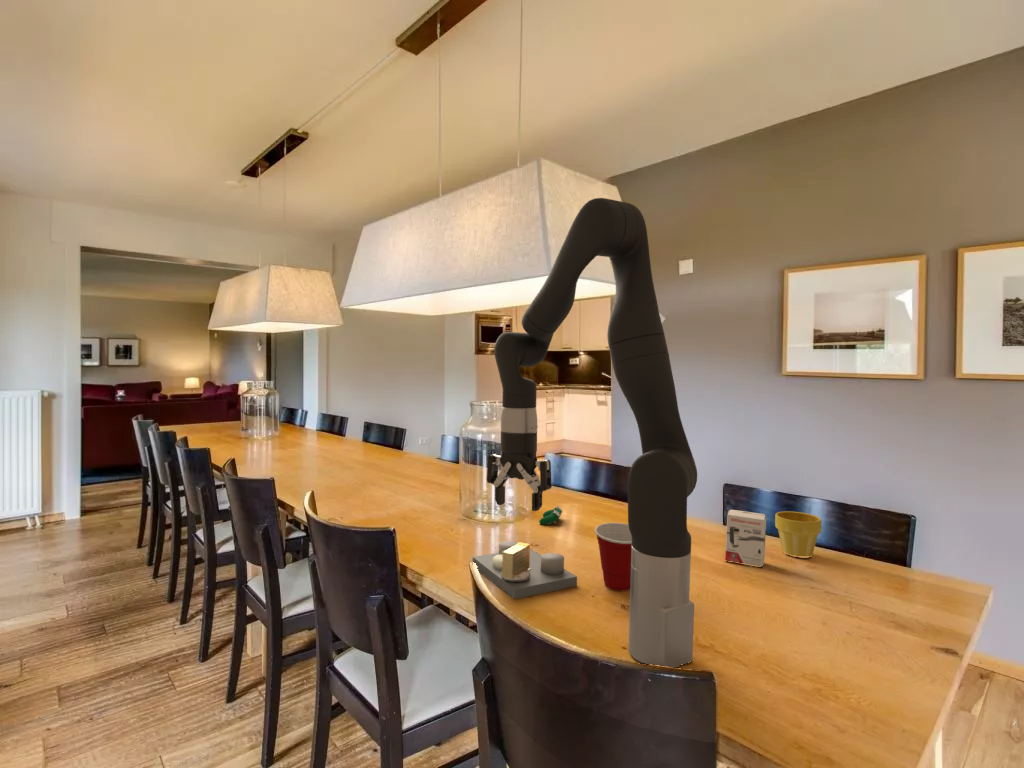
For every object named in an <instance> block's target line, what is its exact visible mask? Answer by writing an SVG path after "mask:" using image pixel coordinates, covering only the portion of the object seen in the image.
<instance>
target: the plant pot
mask: <svg viewBox="0 0 1024 768" xmlns="http://www.w3.org/2000/svg"><path fill="white" fill-rule="evenodd" d="M774 516H775V519H774V525H775V528H776V529H777V532H778V536H779V541H780V545H781V551H782V550H783V551H784V552H786V553H788V554H791V555H796V556H811V555H812V556H813V555H814V551H815V547H816V544H817V540H818V535H820V534H821V533H822V519H821V517H819V516H817V515H814V514H810V513H806V512H800V511H792V510H791V511H787V510H785V511H777V512H776V513H775V515H774Z"/></svg>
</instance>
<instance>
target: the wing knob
mask: <svg viewBox="0 0 1024 768" xmlns="http://www.w3.org/2000/svg"><path fill="white" fill-rule="evenodd" d="M530 545H531V544H529V543H525V542H518V543H517V544H516V545H514V546H513V547H511V548H509V549H507V550H505V551H503V559H502V571H501V577H502V579H503V580H505V581H508V582H515V583H518V582H525V581H527V580H529V579H530V571H529V570H528V569H529V564H530V549H531V546H530Z"/></svg>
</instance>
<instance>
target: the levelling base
mask: <svg viewBox="0 0 1024 768" xmlns="http://www.w3.org/2000/svg"><path fill="white" fill-rule="evenodd" d="M517 543H519V542H518V541H513V540H512V541H511V540H507V541H501V542H499V544H498V552H494V553H488V554H482V555H476V556H472V563H473V562H474V563H476V565H477V566H478V569H479V570H478V571H479V572H480V573H481V574H482V575H484V576H485V577H486V578H487V579H489V581H491V582H492V583H494V584H495V585H496V586H497V587H498V588H500V589H501V590H502V591H504V592H505V593H506V594H507V595H509V596H510V597H511V598H512V599H513V600H517V599H521V598H526V597H527V598H528V597H531V596H536V595H540V594H545V593H550V592H554V591H558V590H565V589H568V588H569V589H570V588H574V587H577V586H578V576H577V575H576V574H573V573H572V572H570V571H569V570H567V569H566V568H565V556H564V555H563V554H560V553H554V552H547V553H543V554H540V553H538V552H537V551H535V550H534V549H532V548H530V564H529V569H528V570H529V571H530V579H529V580H527V581H525V582H518V583H515V582H508V581H505V580H503V579H502V577H501V571H502V559H503V551H505V550H507V549H509V548H511V547H513V546H514V545H516V544H517Z"/></svg>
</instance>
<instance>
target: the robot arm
mask: <svg viewBox="0 0 1024 768" xmlns="http://www.w3.org/2000/svg"><path fill="white" fill-rule="evenodd" d="M647 230H648V229H647V226H646V221H645V218H644V215H643V214H642V211H641V209H639V208H638V207H637V206H636V205H634V204H632V203H629V202H625V201H622V200H620V201H619V200H615V199H611V198H606V197H605V198H604V197H596V198H592V199H591V200H588V201H586V202H585V204H584V205H583V206H582V207H581V208H580V209H579V211H578V213H577V214H576V215H575V218H574V220H573V222H572V224H571V226H570V228H569V231H568V232H567V235H566V237H565V239H564V241H563V244H562V246H561V248H560V249H559V252H558V255H556V258H555V260H554V264H553V265H552V267H551V270H550V272H549V274H548V276H547V278H546V279H545V281H544V283H543V285H542V286H541V288H540V290H539V291H538V293H537V295H536V296H535V297H534V298H533V300H532V301H531V303H530V305H528V307H527V309H526V310H525V311H524V313H523V315H522V318H521V325H522V328H523V330H524V331H525V332H516V331H506V332H502V333H501V334H500V335H499V336H498V338H497V339H496V340H495V343H494V344H495V345H494V347H493V348H494V350H493V351H494V352H493V353H494V359H495V363H496V366H497V372H498V373H499V379H500V383H501V386H502V387H501V388H502V400H501V401H502V407H501V414H500V415H501V417H500V451H501V455H499V454H498V453H494V454H489V455H488V456H487V469H486V470H487V471H486V483H487V484H492V485H493V486H494V500H495V501H494V502H495V503H496V505H497V506H502V505H504V504H505V503H506V485H505V484H506V483H507V481H508V480H509V479H518V480H522V481H523V480H525V483H526V484H527V485H529V487H530V489H531V490H532V491H533V492H532V493H531V511H532V512H538V511H539V510H540V509H541V508H542V507H543V493H544V492H545V491H549V490H550V489H552V487H553V486H552V463H551V462H552V461H551V460H550V459H544V460H538V458H537V452H538V428H539V427H538V426H539V425H538V413H537V383H536V382H535V380H533V379H531V378H527V377H524V376H523V375H522V372H521V370H520V367H522V368H523V367H526V368H527V367H528V368H532V367H535V366H537V365H539V364H540V363H542V361H544V359H545V358H546V356H547V353H548V350H549V347H550V344H551V342H552V339H553V337H554V333H555V332H556V331H557V329H559V327H560V326H561V325H562V324H563V322H564V321H565V320H566V319H567V317H568V315H569V314H570V311H571V310H572V309H573V306H574V302H575V299H576V298H575V296H576V292H577V291H576V290H577V286H578V285H577V283H578V280H579V278H580V277H581V274H582V273H583V271H584V270H585V269H586V268H587V266H588V265H590V263H591V262H592V261H593V260H594V259H595V258H596V257H604V258H605V257H606V258H609V260H610V264H611V268H612V272H613V277H614V282H615V297H614V301H613V302H614V303H613V306H612V309H611V313H610V316H609V317H610V318H609V321H608V326H607V333H606V334H607V345H608V350H609V354H610V360H611V363H612V364H611V365H612V368H613V369H612V370H613V373H614V376H615V378H616V381H617V383H618V386H619V387H620V389H621V391H622V393H623V396H624V398H625V400H626V401H627V403H628V405H629V406H630V409H631V411H632V413H633V415H634V417H635V421H636V425H637V428H638V432H639V438H640V439H639V440H640V444H641V453H642V454H641V455H639V456H637V458H636V459H635V460H634V461H633V463H632V464H631V467H630V470H629V473H628V480H627V481H628V482H627V524H628V525H629V530H630V533H631V536H632V550H631V581H630V590H629V618H628V652H629V654H630V656H632V658H634V659H635V660H637V661H638V662H640V663H641V664H643V663H646V664H652V665H660V666H668V667H676V668H680V666H679V665H681V664H685V665H687V664H686V663H688V662H690V661H692V662H693V654H694V653H693V652H694V626H695V625H694V624H695V603H694V602H693V601H691V600H690V590H691V589H690V588H691V587H690V585H691V566H692V565H691V562H692V561H691V559H692V556H691V555H692V536H691V533H690V531H689V530H688V526H687V525H688V515H687V514H688V497H689V496H690V495H692V493H693V492H694V490H695V489H696V486H697V482H698V470H697V466H696V462H695V458H694V457H693V453H692V449H691V447H690V444H689V441H688V437H687V435H686V432H685V430H684V429H685V428H684V425H683V423H682V422H683V421H682V419H681V416H680V415H681V414H680V412H679V405H678V399H677V392H676V386H675V381H674V377H673V376H674V375H673V371H672V364H671V360H670V354H669V350H668V345H667V344H668V343H667V339H666V336H665V335H666V334H665V331H664V328H663V327H664V326H663V323H662V320H661V315H660V310H659V304H658V300H657V296H656V295H657V294H656V291H655V285H654V281H653V280H654V279H653V273H652V272H653V271H652V265H651V257H650V247H649V238H648V231H647ZM499 465H501V467H502V469H501V471H500V472H499ZM536 468H537V469H538V471H539V474H538V473H537V471H536ZM646 664H645V665H646ZM688 664H689V663H688Z"/></svg>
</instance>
